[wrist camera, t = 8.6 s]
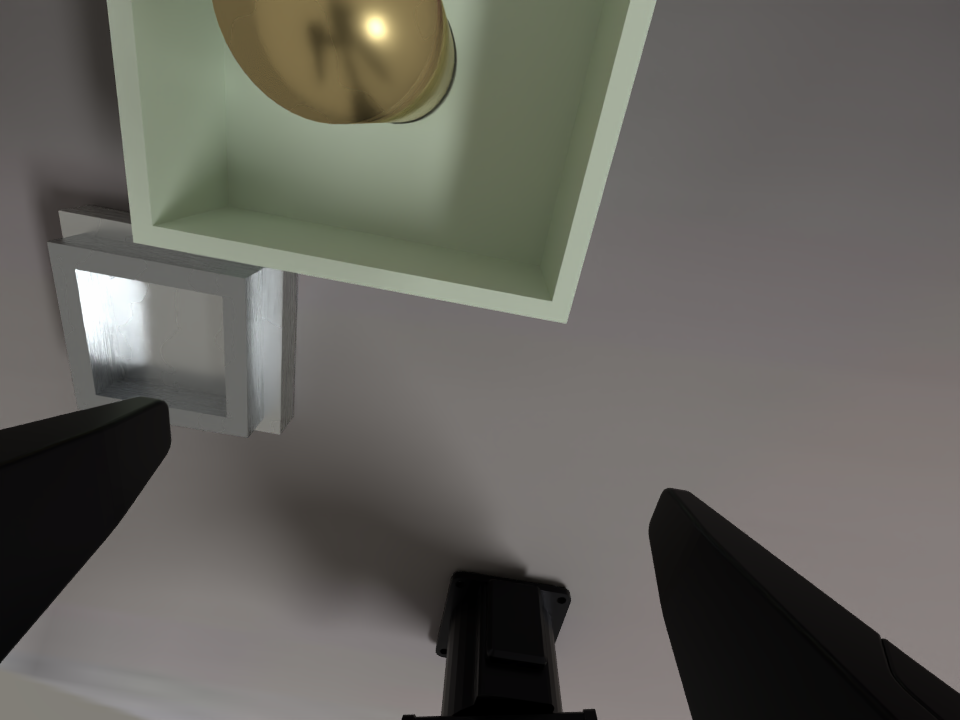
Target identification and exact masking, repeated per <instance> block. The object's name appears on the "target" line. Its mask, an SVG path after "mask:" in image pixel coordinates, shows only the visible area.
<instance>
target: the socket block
mask: <svg viewBox="0 0 960 720" xmlns="http://www.w3.org/2000/svg"><path fill="white" fill-rule="evenodd" d="M58 212H59V218H60V224H61V230H62V235H63V238H61V239H56V240H52V241H48V242H47V245H48V251H49V256H50V261H51V267H52V272H53V278H54V283H55V289H56V294H57V299H58V305H59V310H60V316H61V321H62V327H63V332H64V337H65V343H66V348H67V354H68V359H69V365H70V370H71V375H72V381H73V386H74V392H75V397H76V403H77V408H78V409H80V410H84V409H89V408H93V407H97V406H101V405H105V404H109V403H113V402H117V401H122V400H126V399H130V398H134V397H139V396H144V397H150V398H156V399H161V400H164V401H165V402H166V403H167V405H168V407H169V417H170V425H174V426H180V427H186V428H192V429H198V430H203V431H209V432H215V433H221V434H227V435H233V436H239V437H245V438H248V437H249V436H250V435H251V433H252V432H253V431H254V430H256V431H262V432H267V433H273V434H279V435H280V434H281V433H282V431H283V430H284V429H285V427H286V426H287V425H288V423H289V422H290V420H291V419H292V418H293V407H294V374H295V341H296V308H297V275H298V273H293V272H288V271H283V270H277V269H272V268H267V267H261V266H256V265H251V264H245V263H240V262H235V261H229V260H224V259H219V258H213V257H208V256H203V255H197V254H192V253H187V252H181V251H176V250H171V249H165V248H160V247H155V246H149V245H144V244H139V243H133V234H132V225H131V216H130V213H129V212H124V211H119V210H114V209H108V208H103V207H98V206H93V205H87V206H81V207H75V208H69V209H63V210H58Z"/></svg>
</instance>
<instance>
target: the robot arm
mask: <svg viewBox="0 0 960 720" xmlns="http://www.w3.org/2000/svg"><path fill="white" fill-rule="evenodd" d="M170 445H171V430H170V417H169V407H168V405H167V403H166V402H165V401H164V400H161V399H156V398H150V397H144V396H139V397H134V398H130V399H126V400H122V401H117V402H113V403H109V404H105V405H101V406H97V407H93V408H89V409H84V410H80V411H76V412H72V413H68V414H64V415H60V416H56V417H51V418H47V419H43V420H39V421H35V422H31V423H27V424H23V425H19V426H14V427H10V428H6V429H2V430H0V663H1V662H2V661H3V660H4V658H5V657H6V656H7V655H8V654H9V652H10V651H11V650H12V649H13V648H14V647H15V645H16V644H17V643H18V642H19V641H20V640H21V638H22V637H23V636H24V635H25V634H26V633H27V631H28V630H29V629H30V628H31V627H32V625H33V624H34V623H35V622H36V621H37V620H38V618H39V617H40V616H41V615H42V614H43V613H44V611H45V610H46V609H47V608H48V607H49V606H50V604H51V603H52V602H53V601H54V600H55V598H56V597H57V596H58V595H59V594H60V593H61V591H62V590H63V589H64V588H65V587H66V586H67V584H68V583H69V582H70V581H71V580H72V579H73V577H74V576H75V575H76V574H77V573H78V571H79V570H80V569H81V568H82V567H83V566H84V564H85V563H86V562H87V561H88V560H89V559H90V557H91V556H92V555H93V554H94V553H95V552H96V550H97V549H98V548H99V547H100V546H101V544H102V543H103V542H104V541H105V540H106V539H107V537H108V536H109V535H110V534H111V532H112V531H113V530H114V529H115V528H116V526H117V525H118V524H119V522H120V521H121V520H122V518H123V517H124V515H125V514H126V513H127V511H128V510H129V508H130V507H131V505H132V504H133V503H134V501H135V500H136V498H137V497H138V495H139V494H140V492H141V491H142V490H143V488H144V487H145V485H146V484H147V482H148V481H149V479H150V478H151V477H152V475H153V474H154V472H155V471H156V469H157V468H158V466H159V465H160V464H161V462H162V461H163V459H164V458H165V456H166V455H167V453H168V451H169V449H170ZM649 540H650V546H651V551H652V557H653V563H654V569H655V574H656V580H657V586H658V592H659V597H660V603H661V608H662V613H663V617H664V621H665V624H666V628H667V632H668V635H669V639H670V642H671V646H672V649H673V653H674V656H675V660H676V663H677V667H678V670H679V674H680V677H681V681H682V684H683V688H684V691H685V695H686V698H687V702H688V705H689V709H690V712H691V716H692V719H693V720H960V693H958V692H957V691H955V690H954V689H953V688H951V687H950V686H949V685H947V684H946V683H944V682H943V681H942V680H940V679H939V678H938V677H936V676H935V675H934V674H932V673H931V672H929V671H928V670H927V669H925V668H924V667H923V666H921V665H920V664H919V663H917V662H916V661H914V660H913V659H912V658H910V657H909V656H908V655H906V654H905V653H904V652H902V651H901V650H900V649H898V648H897V647H896V646H894V645H893V644H892V643H891V642H889V641H888V640H886V639H881V637H880V635H879V634H878V633H877V632H876V631H874V630H873V629H872V628H870V627H869V626H868V625H866V624H865V623H864V622H862V621H861V620H860V619H858V618H857V617H856V616H854V615H853V614H852V613H850V612H849V611H848V610H846V609H845V608H844V607H842V606H841V605H840V604H838V603H837V602H836V601H834V600H833V599H832V598H830V597H829V596H828V595H826V594H825V593H824V592H822V591H821V590H820V589H818V588H817V587H816V586H814V585H813V584H812V583H810V582H809V581H808V580H806V579H805V578H804V577H802V576H801V575H800V574H798V573H797V572H796V571H794V570H793V569H792V568H790V567H789V566H788V565H786V564H785V563H784V562H782V561H781V560H780V559H778V558H777V557H776V556H774V555H773V554H772V553H770V552H769V551H768V550H766V549H765V548H764V547H762V546H761V545H760V544H758V543H757V542H756V541H754V540H753V539H752V538H750V537H749V536H748V535H746V534H745V533H744V532H742V531H741V530H740V529H738V528H737V527H736V526H734V525H733V524H732V523H731V522H729V521H728V520H727V519H725V518H724V517H723V516H721V515H720V514H719V513H717V512H716V511H715V510H713V509H712V508H711V507H709V506H708V505H707V504H705V503H704V502H703V501H701V500H700V499H699V498H697V497H696V496H695V495H693V494H692V493H690V492H689V491H686V490H680V489H674V488H667V489H665V490H664V491H663V492H662V494H661V496H660V498H659V501H658V503H657V506H656V508H655V511H654V513H653V516H652V518H651V521H650V524H649ZM459 581H462V582H459ZM570 602H571V597H570V592H569V590H567V589H566V588H562V587H556V586H550V585H543V584H537V583H531V582H524V581H518V580H512V579H506V578H499V577H493V576H487V575H481V574H474V573H468V572H455V573H454V574H453V575H452V577H451V581H450V586H449V590H448V595H447V599H446V604H445V608H444V613H443V617H442V621H441V626H440V630H439V635H438V639H437V644H436V653H437V655H439V656H441V657H445V658H446V668H445V679H444V690H443V700H442V711H441V716H427V717H416V716H415V714H414V715H403V717H402V720H597V716H596V711H595V709H583V712H563V711H562V702H561V694H560V685H559V677H558V668H557V660H556V651H555V642H556V639H557V637H558V634H559V631H560V629H561V626H562V624H563V621H564V618H565V616H566V613H567V610H568V608H569V605H570Z"/></svg>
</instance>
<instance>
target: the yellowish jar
mask: <svg viewBox="0 0 960 720" xmlns="http://www.w3.org/2000/svg"><path fill="white" fill-rule="evenodd" d="M212 3H213V8H214V11H215V15H216V18H217V21H218V24H219V27H220V30H221V32H222V34H223V37H224V39H225V41H226V44H227V45H228V47H229V49H230V51H231V53H232V55H233V56H234V58H235V60H236V61H237V62H238V64H239V65H240V67H241V68H242V70H243V71H244V73H245V74H246V75H247V76H248V77H249V78H250V80H251V81H252V82H253V83H254V84H255V85H256V86H257V87H258V88H259V89H260V90H261V91H262V92H263V93H264V94H265V95H266V96H267V97H269V98H270V99H271V100H273V101H274V102H275V103H277V104H278V105H280V106H281V107H283V108H285V109H286V110H288V111H290V112H291V113H294V114H296V115H298V116H301V117H303V118H305V119H309V120H312V121H316V122H320V123H327V124H365V123H392V124H408V123H414V122H417V121H421V120H423V119H425V118H427V117H429V116H430V115H432V114H433V113H434V112H435V111H437V110H438V109H439V108H440V107H441V105H442V104H443V103H444V102H445V100H446V99H447V97H448V96H449V94H450V91H451V89H452V87H453V84H454V81H455V77H456V72H457V50H456V43H455V39H454V35H453V32H452V29H451V26H450V23H449V21H448V19H447V16H446V13H445V9H444V6H443V2H442V0H212Z"/></svg>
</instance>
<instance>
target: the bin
mask: <svg viewBox="0 0 960 720" xmlns="http://www.w3.org/2000/svg"><path fill="white" fill-rule="evenodd" d="M442 2H443V6H444V9H445V13H446V16H447V19H448V21H449V23H450V26H451V29H452V32H453V35H454V39H455V43H456V50H457V72H456V77H455V81H454V84H453V87H452V89H451V91H450V94H449V96H448V97H447V99H446V100H445V102H444V103H443V104H442V105H441V107H440V108H439V109H438V110H437V111H435V112H434V113H433V114H432V115H430V116H429V117H427V118H425V119H423V120H421V121H417V122H414V123H408V124H392V123H365V124H327V123H320V122H316V121H312V120H309V119H305V118H303V117H301V116H298V115H296V114H294V113H291V112H290V111H288V110H286V109H285V108H283V107H281V106H280V105H278V104H277V103H275V102H274V101H273V100H271V99H270V98H269V97H267V96H266V95H265V94H264V93H263V92H262V91H261V90H260V89H259V88H258V87H257V86H256V85H255V84H254V83H253V82H252V81H251V80H250V78H249V77H248V76H247V75H246V74H245V73H244V71H243V70H242V68H241V67H240V65H239V64H238V62H237V61H236V60H235V58H234V56H233V55H232V53H231V51H230V49H229V47H228V45H227V44H226V41H225V39H224V37H223V34H222V32H221V30H220V27H219V24H218V21H217V18H216V15H215V11H214V8H213V3H212V0H107V8H108V17H109V26H110V35H111V44H112V53H113V62H114V71H115V80H116V89H117V98H118V107H119V117H120V126H121V135H122V144H123V153H124V162H125V171H126V180H127V189H128V198H129V207H130V216H131V225H132V234H133V243H139V244H144V245H149V246H155V247H160V248H165V249H171V250H176V251H181V252H187V253H192V254H197V255H203V256H208V257H213V258H219V259H224V260H229V261H235V262H240V263H245V264H251V265H256V266H261V267H267V268H272V269H277V270H283V271H288V272H293V273H299V274H304V275H309V276H315V277H320V278H325V279H331V280H336V281H341V282H347V283H352V284H357V285H363V286H368V287H373V288H379V289H384V290H389V291H395V292H400V293H405V294H411V295H416V296H421V297H427V298H432V299H437V300H443V301H448V302H453V303H459V304H464V305H469V306H475V307H480V308H485V309H491V310H496V311H501V312H507V313H512V314H517V315H523V316H528V317H533V318H539V319H544V320H549V321H555V322H560V323H565V324H567V320H568V316H569V313H570V309H571V306H572V302H573V298H574V295H575V291H576V288H577V284H578V280H579V277H580V273H581V270H582V266H583V263H584V259H585V255H586V252H587V248H588V245H589V241H590V237H591V234H592V230H593V227H594V223H595V219H596V216H597V212H598V209H599V205H600V201H601V198H602V194H603V191H604V187H605V184H606V180H607V176H608V173H609V169H610V166H611V162H612V158H613V155H614V151H615V148H616V144H617V140H618V137H619V133H620V130H621V126H622V122H623V119H624V115H625V112H626V108H627V104H628V101H629V97H630V94H631V90H632V87H633V83H634V79H635V76H636V72H637V69H638V65H639V61H640V58H641V54H642V51H643V47H644V43H645V40H646V36H647V33H648V29H649V25H650V22H651V18H652V15H653V11H654V8H655V4H656V0H442Z"/></svg>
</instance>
